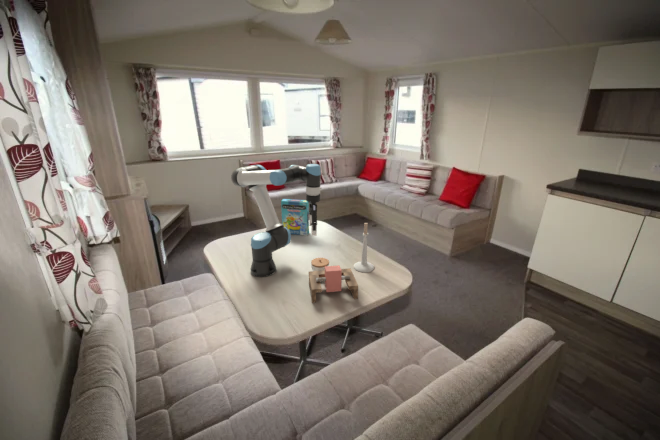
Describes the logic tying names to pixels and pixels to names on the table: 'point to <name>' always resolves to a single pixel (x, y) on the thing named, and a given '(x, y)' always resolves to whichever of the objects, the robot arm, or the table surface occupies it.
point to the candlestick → (364, 255)
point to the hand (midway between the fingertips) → (312, 230)
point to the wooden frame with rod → (316, 279)
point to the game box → (295, 216)
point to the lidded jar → (319, 264)
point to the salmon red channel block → (333, 278)
